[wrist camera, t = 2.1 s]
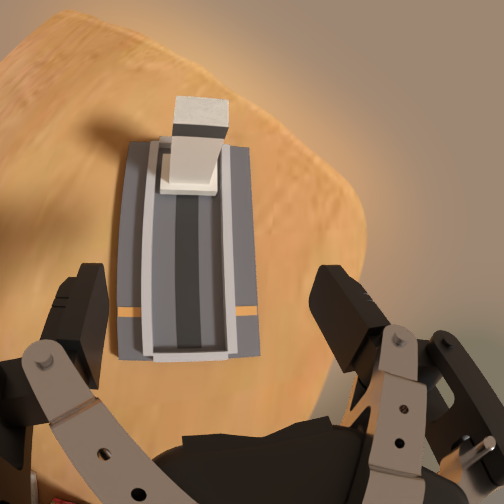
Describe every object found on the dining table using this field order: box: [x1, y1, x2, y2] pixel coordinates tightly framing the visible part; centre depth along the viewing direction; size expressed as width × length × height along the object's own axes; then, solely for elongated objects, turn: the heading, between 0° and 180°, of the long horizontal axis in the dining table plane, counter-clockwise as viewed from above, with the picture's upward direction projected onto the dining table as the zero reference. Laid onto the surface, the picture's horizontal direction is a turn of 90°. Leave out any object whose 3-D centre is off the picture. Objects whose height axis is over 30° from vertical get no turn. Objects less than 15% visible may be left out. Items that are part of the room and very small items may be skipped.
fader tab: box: [160, 96, 229, 196], centre depth 22 cm, size 5×4×10 cm
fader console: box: [117, 136, 260, 362], centre depth 26 cm, size 12×20×2 cm, turn 3°
